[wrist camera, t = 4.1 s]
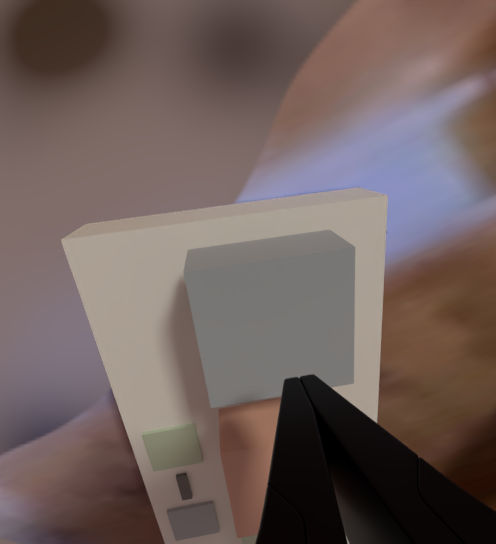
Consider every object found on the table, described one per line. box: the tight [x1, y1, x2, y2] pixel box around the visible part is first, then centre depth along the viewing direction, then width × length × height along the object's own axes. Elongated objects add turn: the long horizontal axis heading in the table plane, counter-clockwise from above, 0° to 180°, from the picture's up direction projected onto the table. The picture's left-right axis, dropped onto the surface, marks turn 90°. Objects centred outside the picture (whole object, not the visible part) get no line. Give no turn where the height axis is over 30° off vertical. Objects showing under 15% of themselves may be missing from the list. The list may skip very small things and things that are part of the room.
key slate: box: [183, 230, 355, 408], centre depth 12 cm, size 6×6×2 cm
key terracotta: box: [219, 398, 281, 538], centre depth 15 cm, size 6×6×2 cm
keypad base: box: [61, 187, 388, 544], centre depth 21 cm, size 14×31×3 cm, turn 7°
